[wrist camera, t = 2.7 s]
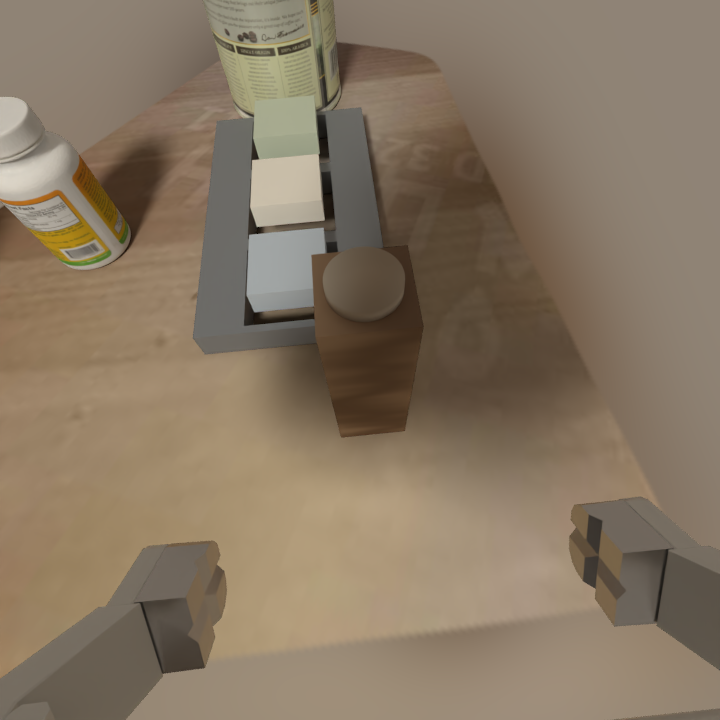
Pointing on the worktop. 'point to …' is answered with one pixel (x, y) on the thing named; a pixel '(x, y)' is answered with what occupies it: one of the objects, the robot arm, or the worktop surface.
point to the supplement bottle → (56, 192)
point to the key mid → (287, 190)
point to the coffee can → (276, 50)
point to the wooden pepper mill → (367, 335)
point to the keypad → (236, 222)
